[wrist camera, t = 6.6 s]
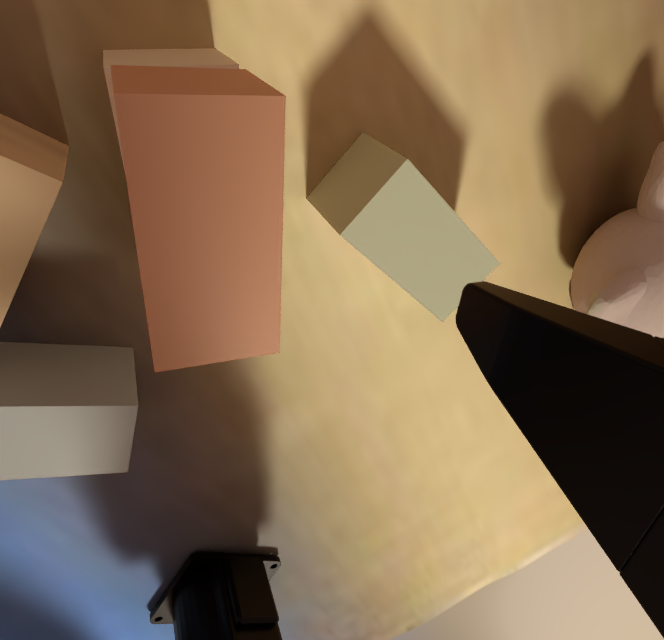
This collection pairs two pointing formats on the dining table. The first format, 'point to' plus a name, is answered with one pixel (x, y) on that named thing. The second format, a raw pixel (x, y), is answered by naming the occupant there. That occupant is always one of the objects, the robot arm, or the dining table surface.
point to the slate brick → (66, 409)
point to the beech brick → (24, 197)
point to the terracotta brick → (205, 208)
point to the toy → (627, 262)
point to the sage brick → (402, 225)
